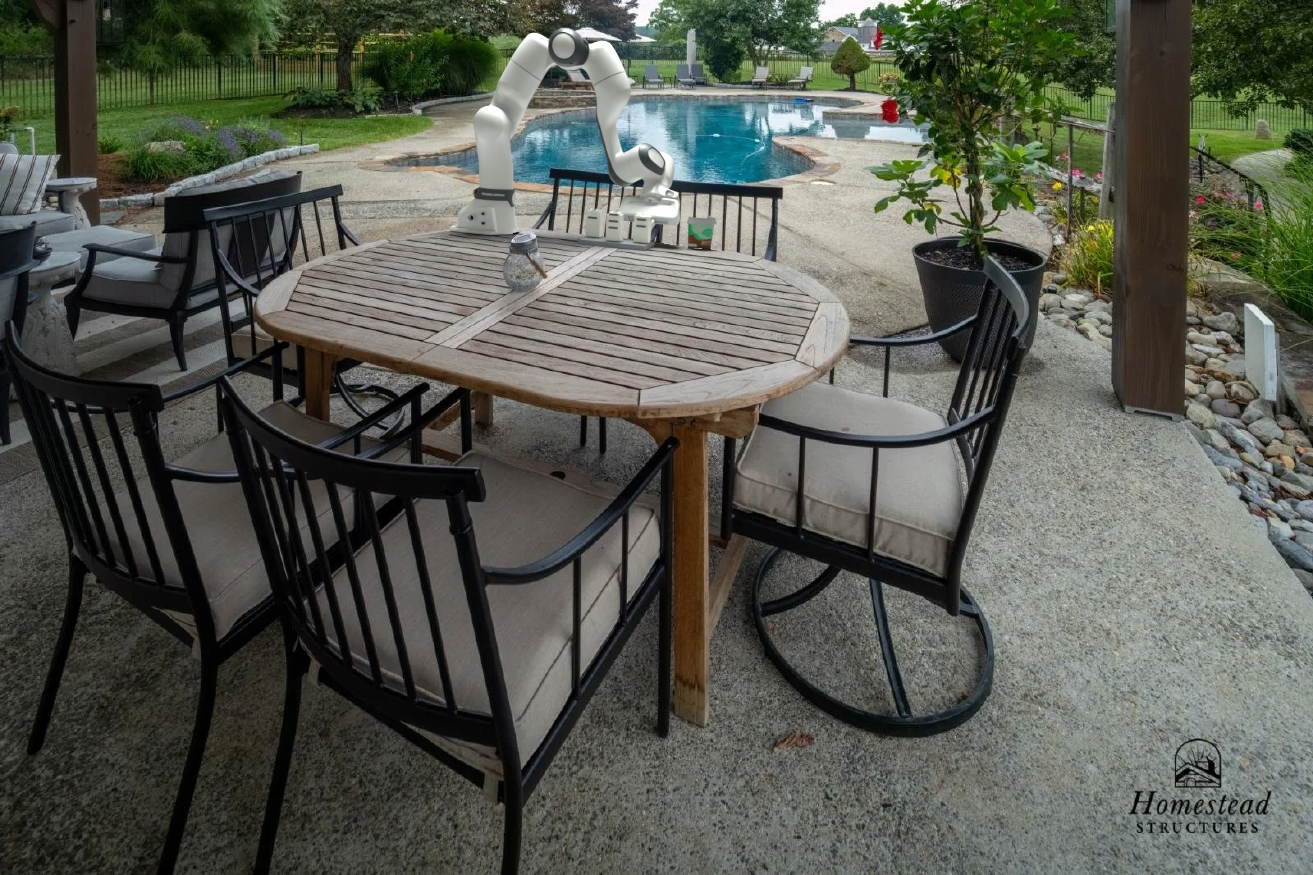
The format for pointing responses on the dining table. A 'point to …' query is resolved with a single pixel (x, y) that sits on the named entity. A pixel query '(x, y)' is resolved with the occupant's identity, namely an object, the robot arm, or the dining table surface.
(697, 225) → the food container
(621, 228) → the tile three
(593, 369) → the dining table surface
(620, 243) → the tile board
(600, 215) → the tile one
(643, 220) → the tile two
